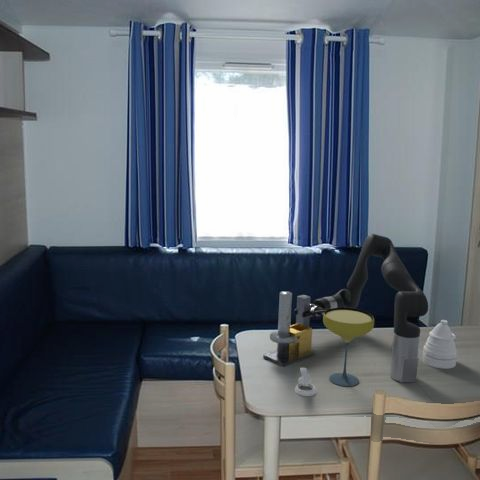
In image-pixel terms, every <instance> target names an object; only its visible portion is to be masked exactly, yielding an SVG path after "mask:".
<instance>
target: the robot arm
mask: <svg viewBox="0 0 480 480" xmlns="http://www.w3.org/2000/svg"><path fill="white" fill-rule="evenodd" d="M370 256H373V257H378V258H379V259H380V258H381V259H382V260H383V262H382V265H381V268H380V271H381V275H382V277H383V279H384V280H385V282H386V283H387V284H388V286H390V287H391V288H392V289H394V290H396V291H398V292H397V293H396V295H395V297H394V311H393V312H394V313H393V315H394V316H393V336H392V347H391V348H392V349H391V360H390V369H389V377H390V378H391V379H393V380H395V381H398V382H400V383H403V384H405V383H414V382H415V383H416V382H417V377H418V366H419V357H418V355H419V347H420V346H419V345H420V335H421V328H420V326H418V325H417V324H415V323H412V322H409V321H408V320H407V318H413V317H415V318H417V317H423V316H425V315H426V314H427V313H428V311H429V302H428V299H427V296H426V294H425V293H424V292H423V290H422V289H421V288H420V287H419V286H418V285H417V283H416V282H415V281H414V279H413V278H412V277H411V275H410V273H409V271H408V270H407V267H406V266H405V265H404V263H403V262H402V260H401V259H400V257H399V255H398V253H397V250H396V249H395V245H394V243H393V240H391V239H390V238H389V237H387V236H384V235H380V234H375V233H370V234H369V235H367V236H366V238H365V240H364V242H363V245H362V247H361V251H360V253H359V256H358V259H357V262H356V264H355V265H356V266H355V268H354V269H353V272H352V274H351V276H350V277H349V279H348V282H347V283H346V288H343V289H340V290H339V291H337V293H335V294H333V295H331V296H330V295H329V296H324V297H321V298H317V299H315V300H313V301H312V302H311V303H310V310H309V311H305V312H303V313H302V317H308V316H310V317H311V318H312V317H313V318H319V317H320V318H321V317H322V318H323V315H324V312H325V311H326V310H329V309H332V308H353V309H357V307H358V305H359V303H360V299H361V295H362V290H363V289H364V287H365V285H366V283H367V281H368V279H369V278H368V277H369V271H368V264H367V261H368V259H369V257H370ZM296 313H297V308H295V309H294V310H293V315H295V316H296Z"/></svg>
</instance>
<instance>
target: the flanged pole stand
mask: <svg viewBox="0 0 480 480" xmlns="http://www.w3.org/2000/svg"><path fill="white" fill-rule="evenodd" d="M278 299H279V302H278V303H279V304H278V322H277V323H278V324H277V325H278V326H277V330H276V331H275V330H274V331H272V332H271V333H270V334H269V340H270V341H271V342H272V343H273V342H274V343H276V350H273V351H269V352H267V353H265V354H262V355H263V357H262V358H263V359H265V360H268V361H269V362H272V363H274V364H276V365H278V366H281V367H283V368H284V367H286V366H288V365H291V364H294V363H297V362H300V361H302V360H304V359H308V358H309V357H312V356H315V355H316V351H314V350H312V344H313V343H312V342H313V341H312V340H313V339H312V338H313V327H310V326H309V327H308V326H305V325H302V324H300V323H297V324H296V323H295V324H292V325H291V321H292V320H291V319H292V301H293V292H291V291H280V292H279V298H278Z"/></svg>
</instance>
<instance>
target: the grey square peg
mask: <svg viewBox="0 0 480 480" xmlns="http://www.w3.org/2000/svg"><path fill="white" fill-rule="evenodd" d="M310 304H311V296H309V295H306V294H301V295H297V297H296V309H297V313H296V315H295V324H297V323H300V324H302V325H305V326H308V327H310V319H311V318H310V316H308V317H302V313H303V312H305V311H309V310H310Z"/></svg>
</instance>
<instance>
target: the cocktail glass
mask: <svg viewBox="0 0 480 480" xmlns="http://www.w3.org/2000/svg"><path fill="white" fill-rule="evenodd" d="M322 322H323V325H324V327H326V329H327V330H328V331H330V332H331V333H333V334H334V335H337V336H339V337H341V339H342V340H343V341H344V342H345V351H344V352H345V353H344V363H343V372H337V373H333V374H331V375H330V376H329V378H328V379H329V381H330V382H331V383H332V384H333V385H336V386H340V387H346V388H347V387H349V388H350V387H355V386H357V385H358V384H359V383H360V379H359V378H358V377H357V376H355V375H353V374H350V373H347V358H348V357H347V356H348V346H349V344H348V343H350V342H351V341H352V340H353V339H355V338H359V337H361V336H364V335H368V333H370V332H371V331H372V330H373V329H374V327H375V318H374V316H373V314H371V313H369V312H368V311H366V310H363V309H359V308H355V309H353V308H345V307H343V308H332V309H329V310H326V311H325V312H324V315H323V316H322Z"/></svg>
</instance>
